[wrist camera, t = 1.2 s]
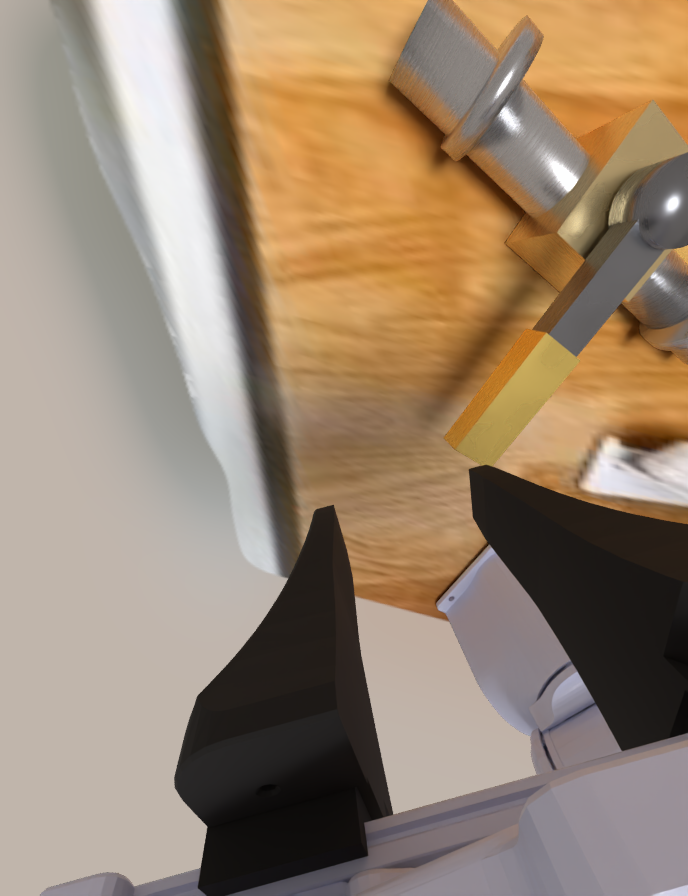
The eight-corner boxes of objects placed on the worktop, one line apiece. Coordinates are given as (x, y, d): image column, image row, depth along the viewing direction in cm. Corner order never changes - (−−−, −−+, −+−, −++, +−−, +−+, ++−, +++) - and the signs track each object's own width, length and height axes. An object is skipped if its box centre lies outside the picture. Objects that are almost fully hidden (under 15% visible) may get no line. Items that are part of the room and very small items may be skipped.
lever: (480, 459, 18) (498, 476, 17) (436, 433, 17) (451, 448, 16) (693, 197, 14) (744, 186, 13) (652, 145, 13) (700, 126, 12)
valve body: (653, 375, 22) (727, 394, 18) (368, 121, 15) (392, 68, 12) (720, 303, 21) (814, 307, 17) (438, -15, 14) (491, -128, 10)
